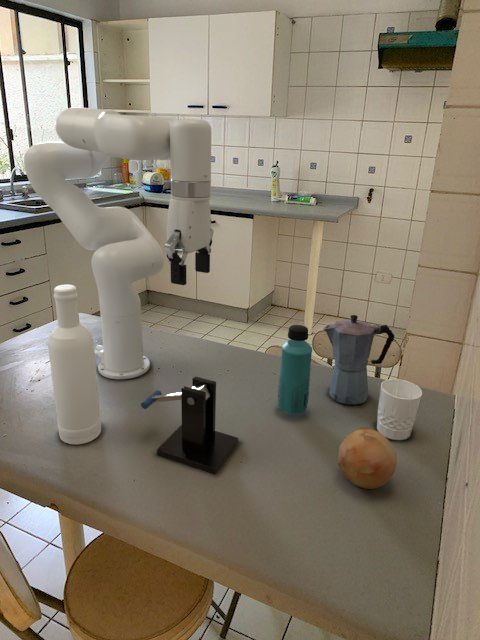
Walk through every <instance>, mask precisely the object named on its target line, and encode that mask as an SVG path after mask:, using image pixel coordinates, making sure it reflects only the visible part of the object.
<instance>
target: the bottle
mask: <svg viewBox="0 0 480 640" xmlns="http://www.w3.org/2000/svg"><path fill="white" fill-rule="evenodd" d="M78 297H79V294H78V291H77V287H76V286H75V285H73V284H69V283H68V284H59V285H57V286H55V287H54V288H53V298H54V302H55V311H56V319H57V325H56V326H55V327H54V328H53V329H52V331H51V332H50V334H49V338H48V341H47V350H48V357H49V365H50V372H51V373H50V374H51V381H52V388H53V389H52V390H53V396H54V403H55V412H56V419H57V422H56V423H57V430H58V435H59V439H60V440H61V441H62V442H63V443H66V444H68V445H83V444H84V445H85V444H87V443H90V442H92V441H93V440H95V439H97V438H98V436H100V434H101V431H102V417H101V411H100V401H99V399H100V398H99V388H98V376H97V375H98V374H97V364H96V356H95V352H94V350H95V342H94V338H93V336H92V334H91V332H90V330H89V328H88V327H86V326H85V325H84V324H82V323H81V322H80V314H79V302H78Z"/></svg>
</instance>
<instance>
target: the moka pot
mask: <svg viewBox="0 0 480 640" xmlns="http://www.w3.org/2000/svg"><path fill="white" fill-rule="evenodd" d="M322 330H323V331H325V333H326V335H327V338H328V340H329V342H330V344H331V347H332V357H333V358H334V365H333V366H332V370H333V372H332V376H331V381H330V387H329V391H328V394H329V396H330V398H331V399H333V401H335V402H337V403H340V404H344V405H360V404H363V403H365V402H366V401H367V400H368V397H369V384H368V383H369V382H368V368H367V367H368V363H369V358H370V354H371V351H372V346H373V342H374V337H375V335H382V334H386V335H387V336H388V337H387V338H386V340H385V344H384V345H383V348H382V350H381V353H380V355H379V357H378V358H377V359H371V360H370V363H371V364H372V365H381V364H382V363H383V361H384V360H385V357H386V355H387V354H388V351H389V349H390V347H391V345H392V343H393V342H394V340H395V334H394V333H393V331H392V330H391V329H390V326H389V327H388V324H383V325H377V324H373V325H372V324H370V323H369V322H367V321H361V320H358V315H356V314H351V315H350V319H346V320H345V319H344V320H336V321H335V322H334V323H329V324H327V325H326V326H324V327H323V328H322Z"/></svg>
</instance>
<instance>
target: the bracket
mask: <svg viewBox="0 0 480 640" xmlns="http://www.w3.org/2000/svg"><path fill="white" fill-rule="evenodd" d="M191 380H192V382H191V383H192V386H191V387H189V386H183V387H181V389H180V390H181V391H180V392H181V400H180V401H181V424H180V425H179V426H178V427H177V429H175V430H174V431H173V433H171V435H169V437H168V438H167V439H166V440H165V441H164V442H163V443H162V444H161V445H160V446H159V447H158V448H157V449H156V455H157V456H160V457H162V458H166V459H169V460H172V461H173V462H174V461H175V462H177V463H180V464H184V465H186V466H189V467H192V468H195V469H199V470H202V471H205V472H206V473H210V474H213V475H216V474H217V473H218V471H219V470H220V469H221V467H223V464H224V463H225V462H226V460H227V459H228V458H229V456H230V455H231V453H232V452H233V451H234V450H235V448H236V447H237V445H238V444H239V437H237V436H233V435H230V434H227V433H223V432H221V431H217V430H216V406H217V405H216V404H217V381H214V380H211V379H207V378H204V377H199V376H194V377H192V379H191ZM205 384H206V386H207V389H208V392H209V394H210V397H209V398H208V399H207V400H206V392H204V391H200V390H197V389H193V388H192V387H193V386H197V385H205Z"/></svg>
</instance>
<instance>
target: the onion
mask: <svg viewBox="0 0 480 640" xmlns="http://www.w3.org/2000/svg"><path fill="white" fill-rule="evenodd" d="M397 463H398V457H397V452H396V450H395V448H394V446H393V445H392V443H391V442H390V440H389V438H387V437H385V436H384V435H382V434H381V433H379V432H378V430H377V429H376V430H375V429H372V428H370V427H364V426H363V427H359V428H356V429H354V430H353V431H351V432H350V433H348V434H347V436H345V438H344V439H343V440H342V442H341V443H340V445H339V448H338V456H337V465H338V467H339V470H340V471H341V473H342V474H343V475H344V477H345V478H346V479H347V480H348V481H349V482H350V483H352V484H353V485H355V486H357V487H359V488H363V489H367V490H375V489H378V488H381V487H382V486H383V485H385V484H387V482H389V480H391V479H392V477H394V475H395V472H396V468H397Z"/></svg>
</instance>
